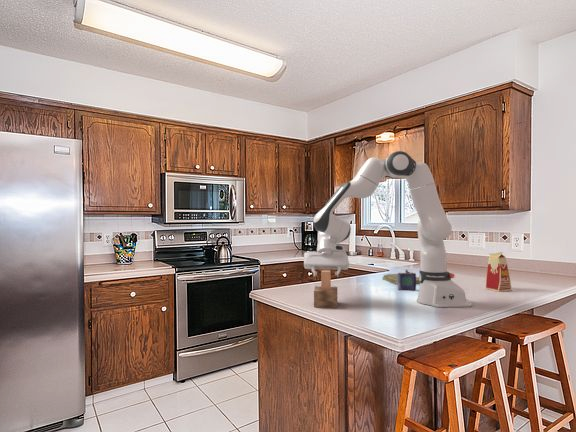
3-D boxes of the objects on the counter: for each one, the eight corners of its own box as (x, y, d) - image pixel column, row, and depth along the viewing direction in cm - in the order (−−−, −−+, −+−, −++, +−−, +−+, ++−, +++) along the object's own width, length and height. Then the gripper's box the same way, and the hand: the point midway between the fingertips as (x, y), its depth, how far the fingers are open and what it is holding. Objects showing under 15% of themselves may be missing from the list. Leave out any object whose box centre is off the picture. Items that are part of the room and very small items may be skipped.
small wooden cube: (337, 302, 166) (337, 286, 165) (337, 307, 156) (337, 291, 156) (315, 301, 167) (315, 286, 167) (314, 307, 157) (313, 291, 157)
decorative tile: (406, 278, 227) (406, 272, 227) (426, 284, 208) (426, 278, 208) (379, 280, 222) (379, 274, 222) (397, 286, 203) (397, 280, 203)
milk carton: (511, 290, 188) (511, 251, 188) (499, 292, 185) (499, 252, 185) (495, 287, 197) (495, 250, 197) (483, 288, 193) (483, 251, 193)
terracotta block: (330, 288, 163) (330, 270, 163) (330, 289, 159) (330, 271, 159) (321, 287, 163) (321, 270, 163) (321, 289, 159) (321, 271, 159)
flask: (397, 290, 191) (397, 269, 191) (397, 289, 194) (397, 268, 194) (416, 290, 189) (416, 270, 189) (415, 289, 192) (415, 269, 192)
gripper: (303, 246, 169) (301, 271, 160) (348, 247, 167) (349, 272, 157) (304, 255, 174) (302, 279, 164) (348, 255, 171) (348, 280, 161)
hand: (325, 275), depth 160 cm, fingers open, 8 cm apart
